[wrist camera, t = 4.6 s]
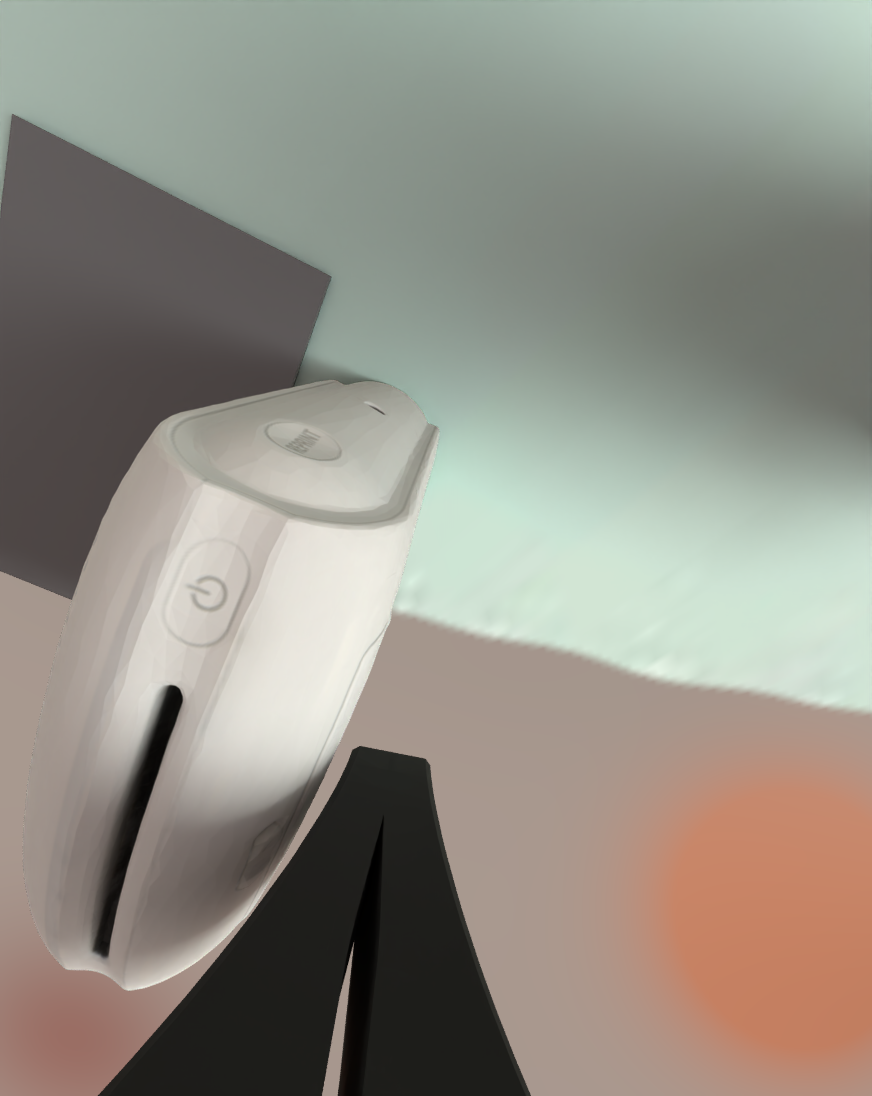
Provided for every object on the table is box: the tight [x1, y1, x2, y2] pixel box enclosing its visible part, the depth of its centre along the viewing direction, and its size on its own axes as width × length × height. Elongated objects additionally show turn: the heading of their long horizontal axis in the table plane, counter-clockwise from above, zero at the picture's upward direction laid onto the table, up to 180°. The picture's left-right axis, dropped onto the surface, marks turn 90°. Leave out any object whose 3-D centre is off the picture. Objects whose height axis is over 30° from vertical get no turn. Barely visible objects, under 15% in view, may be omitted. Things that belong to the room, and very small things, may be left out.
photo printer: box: [23, 380, 440, 991], centre depth 12 cm, size 10×4×12 cm, turn 156°
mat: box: [0, 114, 331, 600], centre depth 17 cm, size 9×14×1 cm, turn 155°
